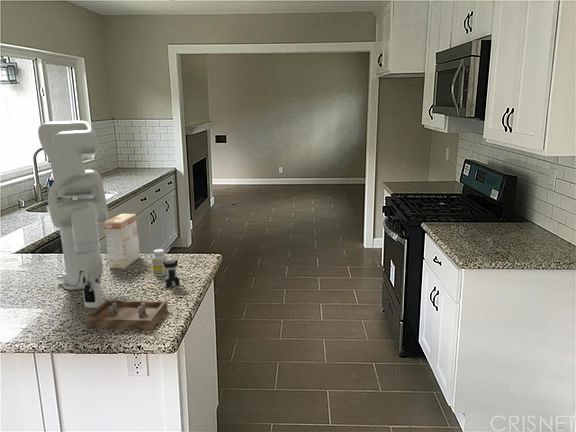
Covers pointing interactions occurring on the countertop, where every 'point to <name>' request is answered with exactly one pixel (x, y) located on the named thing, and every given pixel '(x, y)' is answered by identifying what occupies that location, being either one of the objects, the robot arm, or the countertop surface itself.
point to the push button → (171, 272)
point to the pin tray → (127, 315)
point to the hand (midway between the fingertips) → (93, 298)
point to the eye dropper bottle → (97, 294)
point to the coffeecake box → (122, 240)
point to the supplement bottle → (159, 262)
